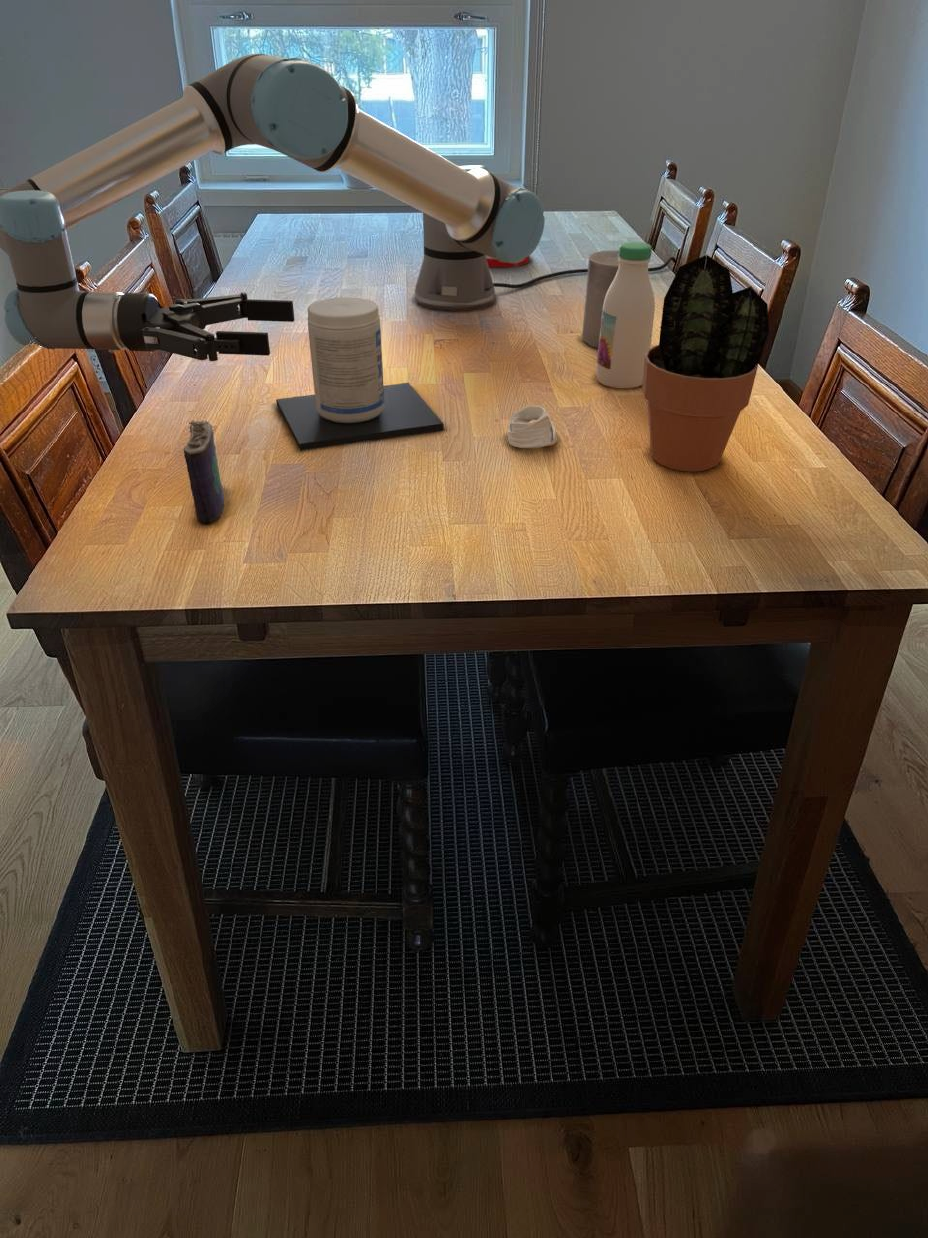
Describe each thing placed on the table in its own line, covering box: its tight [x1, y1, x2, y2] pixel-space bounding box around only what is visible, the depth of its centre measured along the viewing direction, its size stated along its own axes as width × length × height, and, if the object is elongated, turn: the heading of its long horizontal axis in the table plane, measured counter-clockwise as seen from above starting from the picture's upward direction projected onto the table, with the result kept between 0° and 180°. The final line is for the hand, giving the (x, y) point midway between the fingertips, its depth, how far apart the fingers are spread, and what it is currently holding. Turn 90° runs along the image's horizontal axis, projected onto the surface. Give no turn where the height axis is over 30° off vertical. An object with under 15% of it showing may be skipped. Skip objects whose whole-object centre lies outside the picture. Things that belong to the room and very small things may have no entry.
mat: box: [275, 382, 444, 452], centre depth 129 cm, size 20×16×1 cm
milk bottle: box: [595, 241, 656, 389], centre depth 136 cm, size 8×8×20 cm
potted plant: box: [641, 254, 770, 472], centre depth 112 cm, size 14×14×25 cm
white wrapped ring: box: [507, 405, 558, 449], centre depth 122 cm, size 8×7×5 cm
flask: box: [183, 419, 225, 526], centre depth 104 cm, size 9×3×11 cm, turn 8°
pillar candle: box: [581, 249, 619, 349], centre depth 152 cm, size 10×10×15 cm
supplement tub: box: [306, 296, 385, 423], centre depth 124 cm, size 10×10×15 cm
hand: (281, 326), depth 122 cm, fingers open, 13 cm apart
